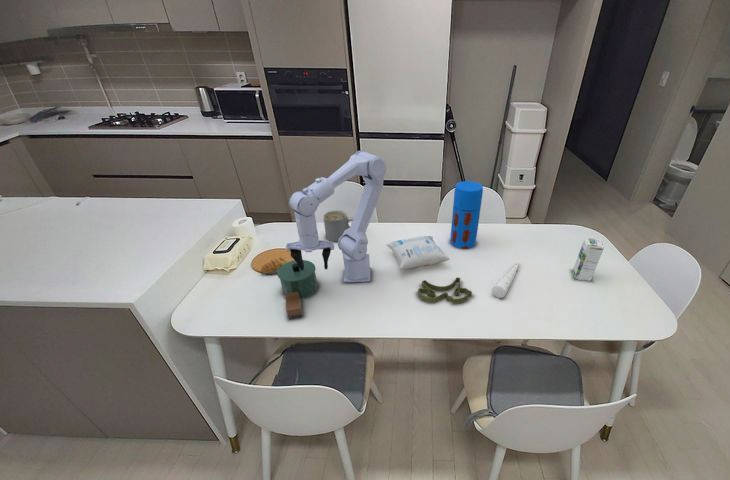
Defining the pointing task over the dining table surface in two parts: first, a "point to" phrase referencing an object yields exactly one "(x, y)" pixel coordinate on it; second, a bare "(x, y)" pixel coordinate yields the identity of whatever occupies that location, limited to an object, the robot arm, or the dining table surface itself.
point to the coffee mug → (336, 224)
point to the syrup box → (588, 259)
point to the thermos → (466, 214)
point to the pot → (301, 286)
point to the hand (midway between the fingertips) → (314, 268)
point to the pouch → (417, 252)
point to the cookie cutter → (431, 293)
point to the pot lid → (295, 271)
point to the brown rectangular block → (293, 305)
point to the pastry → (273, 266)
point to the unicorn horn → (504, 283)
